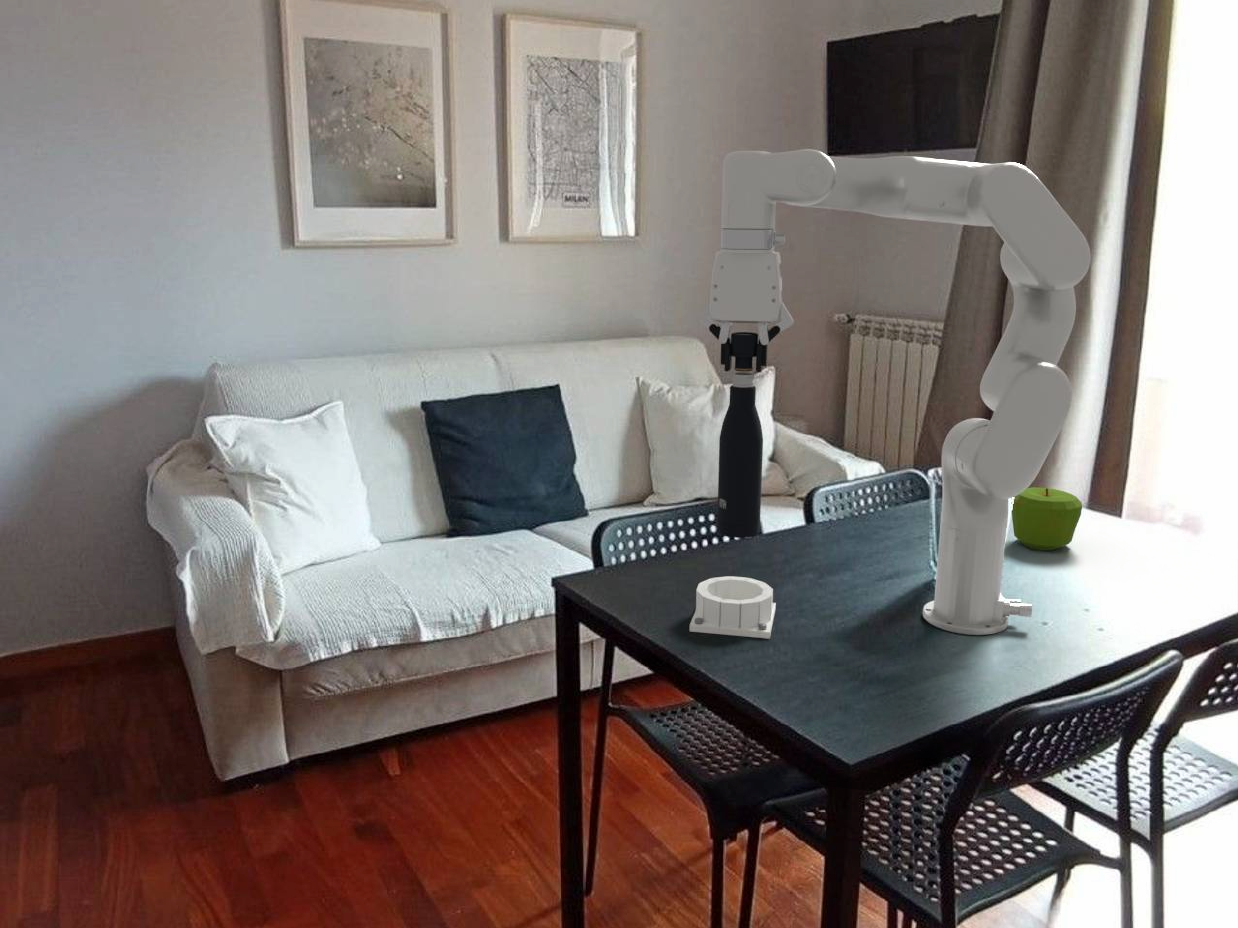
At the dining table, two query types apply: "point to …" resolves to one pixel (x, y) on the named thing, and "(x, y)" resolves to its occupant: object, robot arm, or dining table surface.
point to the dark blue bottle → (741, 448)
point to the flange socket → (734, 607)
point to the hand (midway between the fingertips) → (743, 369)
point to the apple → (1045, 518)
